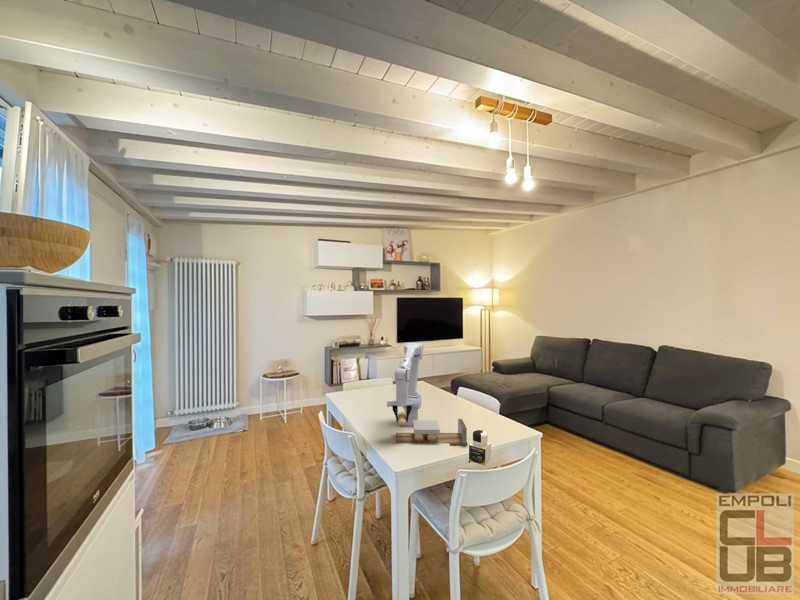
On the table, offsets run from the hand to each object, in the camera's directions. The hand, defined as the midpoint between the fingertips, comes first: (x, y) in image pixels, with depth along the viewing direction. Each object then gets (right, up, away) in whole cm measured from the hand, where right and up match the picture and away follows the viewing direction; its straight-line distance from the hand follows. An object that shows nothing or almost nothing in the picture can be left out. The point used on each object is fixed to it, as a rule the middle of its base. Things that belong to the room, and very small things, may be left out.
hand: (402, 421), depth 162 cm
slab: (+12, -4, 0) cm, 12 cm away
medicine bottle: (+33, -9, -20) cm, 40 cm away
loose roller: (0, -1, 0) cm, 1 cm away
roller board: (+14, -9, 0) cm, 16 cm away
